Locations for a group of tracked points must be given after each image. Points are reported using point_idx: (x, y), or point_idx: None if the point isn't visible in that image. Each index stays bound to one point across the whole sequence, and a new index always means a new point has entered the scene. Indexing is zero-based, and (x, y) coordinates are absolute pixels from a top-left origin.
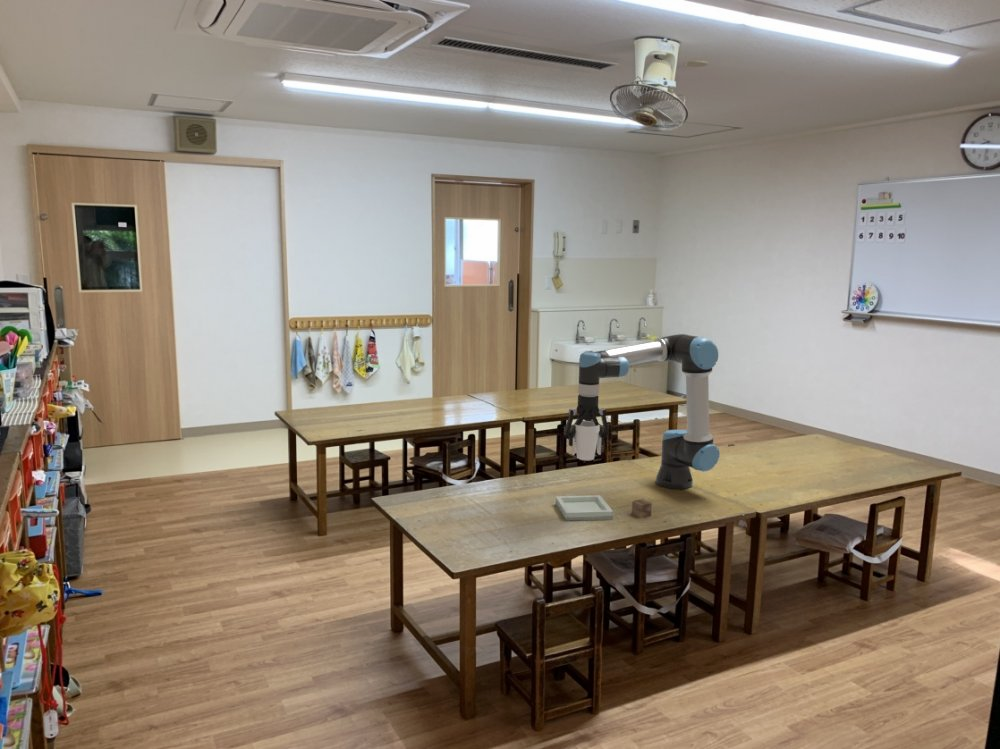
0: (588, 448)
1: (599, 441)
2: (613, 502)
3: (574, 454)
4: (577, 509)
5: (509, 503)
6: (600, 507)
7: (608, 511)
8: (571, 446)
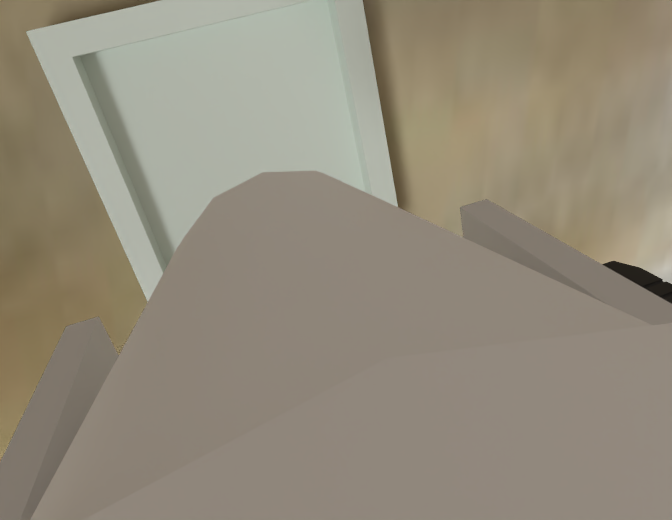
0: (283, 203)
1: (29, 487)
2: (79, 318)
3: (466, 208)
4: (278, 122)
5: (596, 189)
6: (140, 181)
7: (60, 24)
8: None
